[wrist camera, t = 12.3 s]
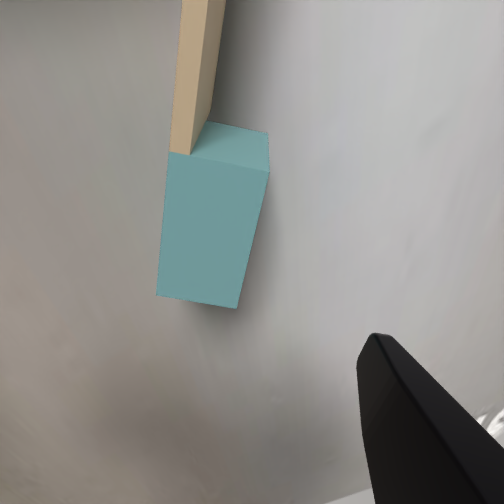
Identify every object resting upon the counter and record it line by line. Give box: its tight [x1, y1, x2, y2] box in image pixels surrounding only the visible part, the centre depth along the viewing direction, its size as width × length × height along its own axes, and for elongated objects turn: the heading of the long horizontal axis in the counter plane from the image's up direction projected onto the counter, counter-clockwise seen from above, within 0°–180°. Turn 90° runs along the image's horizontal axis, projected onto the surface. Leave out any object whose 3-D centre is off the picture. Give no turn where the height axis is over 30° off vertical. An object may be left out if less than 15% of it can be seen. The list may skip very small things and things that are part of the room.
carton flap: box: [156, 0, 270, 309], centre depth 12 cm, size 18×3×6 cm, turn 168°
